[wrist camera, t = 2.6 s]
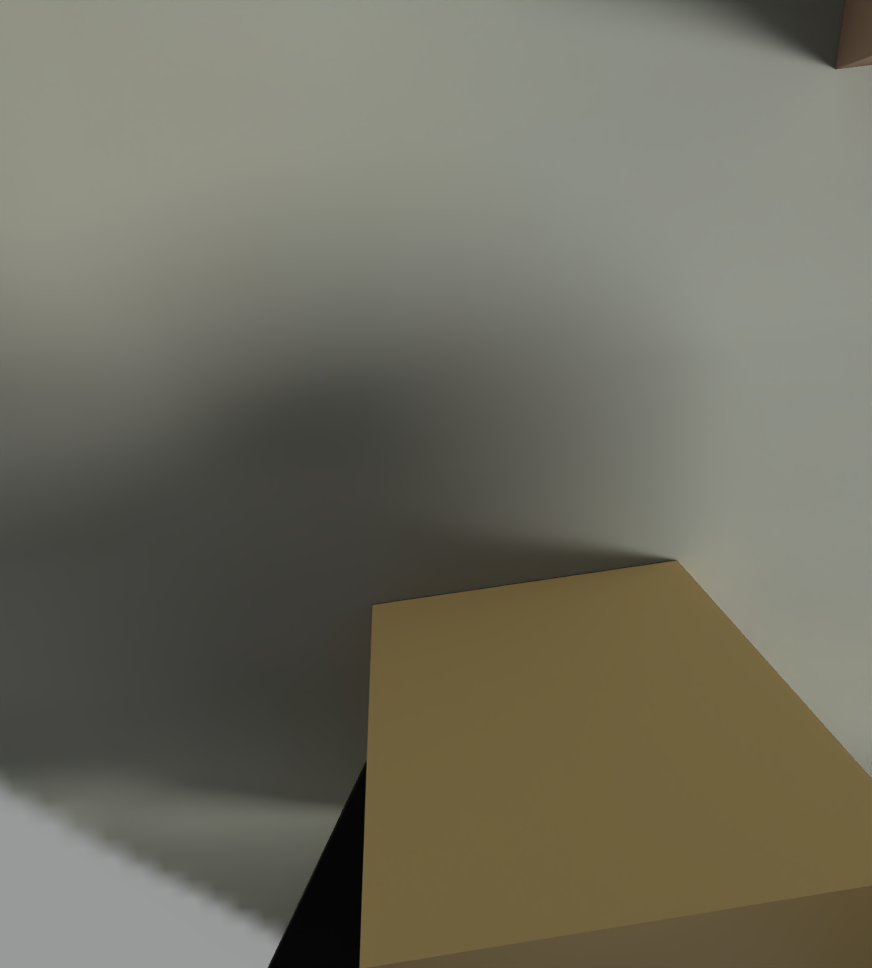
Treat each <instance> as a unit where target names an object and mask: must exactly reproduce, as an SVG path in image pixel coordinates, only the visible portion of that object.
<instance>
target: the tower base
mask: <svg viewBox="0 0 872 968" xmlns="http://www.w3.org/2000/svg"><path fill="white" fill-rule="evenodd" d="M865 65H872V0H845V5H844V12H843V19H842V27H841V34H840V41H839V48H838V56H837V63H836V69H841V68H849V67H857V66H865Z"/></svg>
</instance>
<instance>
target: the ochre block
mask: <svg viewBox="0 0 872 968" xmlns="http://www.w3.org/2000/svg"><path fill="white" fill-rule="evenodd" d="M359 968H872V779H871V777H870V776H869V775H868V774H867V773H866V772H865V771H864V770H863V768H862V767H861V766H860V765H859V764H858V763H857V762H856V761H855V759H854V758H853V757H852V756H851V755H850V754H849V753H848V752H847V750H846V749H845V748H844V747H843V746H842V745H841V744H840V743H839V741H838V740H837V739H836V738H835V737H834V736H833V735H832V734H831V732H830V731H829V730H828V729H827V728H826V727H825V726H824V725H823V723H822V722H821V721H820V720H819V719H818V718H817V717H816V716H815V715H814V713H813V712H812V711H811V710H810V709H809V708H808V707H807V706H806V704H805V703H804V702H803V701H802V700H801V699H800V698H799V697H798V695H797V694H796V693H795V692H794V691H793V690H792V689H791V688H790V686H789V685H788V684H787V683H786V682H785V681H784V680H783V679H782V677H781V676H780V675H779V674H778V673H777V672H776V671H775V670H774V668H773V667H772V666H771V665H770V664H769V663H768V662H767V661H766V659H765V658H764V657H763V656H762V655H761V654H760V653H759V652H758V651H757V649H756V648H755V647H754V646H753V645H752V644H751V643H750V642H749V640H748V639H747V638H746V637H745V636H744V635H743V634H742V633H741V631H740V630H739V629H738V628H737V627H736V626H735V625H734V624H733V622H732V621H731V620H730V619H729V618H728V617H727V616H726V615H725V613H724V612H723V611H722V610H721V609H720V608H719V607H718V606H717V604H716V603H715V602H714V601H713V600H712V599H711V598H710V597H709V595H708V594H707V593H706V592H705V591H704V590H703V589H702V588H701V587H700V585H699V584H698V583H697V582H696V581H695V580H694V579H693V578H692V576H691V575H690V574H689V573H688V572H687V571H686V570H685V569H684V567H683V566H682V565H681V564H680V563H679V562H678V561H670V562H663V563H656V564H649V565H643V566H636V567H629V568H622V569H615V570H608V571H602V572H595V573H588V574H581V575H574V576H567V577H561V578H554V579H547V580H540V581H533V582H526V583H520V584H513V585H506V586H499V587H492V588H485V589H479V590H472V591H465V592H458V593H451V594H444V595H438V596H431V597H424V598H417V599H410V600H403V601H397V602H390V603H383V604H376V605H372V630H371V658H370V686H369V714H368V742H367V770H366V798H365V826H364V854H363V882H362V911H361V939H360V967H359Z"/></svg>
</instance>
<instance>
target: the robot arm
mask: <svg viewBox="0 0 872 968" xmlns="http://www.w3.org/2000/svg"><path fill="white" fill-rule="evenodd" d="M366 770H367V760H366V762H365V764H364V766H363V768H362V770H361V772H360V774H359V777H358V779H357V781H356V783H355V785H354V787H353V789H352V791H351V793H350V796H349V798H348V800H347V802H346V804H345V806H344V808H343V810H342V812H341V814H340V817H339V819H338V821H337V823H336V825H335V827H334V829H333V831H332V833H331V836H330V838H329V840H328V842H327V844H326V846H325V848H324V850H323V852H322V855H321V857H320V859H319V861H318V863H317V865H316V867H315V869H314V871H313V874H312V876H311V878H310V880H309V882H308V884H307V886H306V888H305V890H304V892H303V895H302V897H301V899H300V901H299V903H298V905H297V907H296V909H295V911H294V914H293V916H292V918H291V920H290V922H289V924H288V926H287V928H286V930H285V933H284V935H283V937H282V939H281V941H280V943H279V945H278V947H277V949H276V952H275V954H274V956H273V958H272V960H271V962H270V964H269V966H268V968H359V967H360V939H361V911H362V882H363V854H364V826H365V798H366Z"/></svg>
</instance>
